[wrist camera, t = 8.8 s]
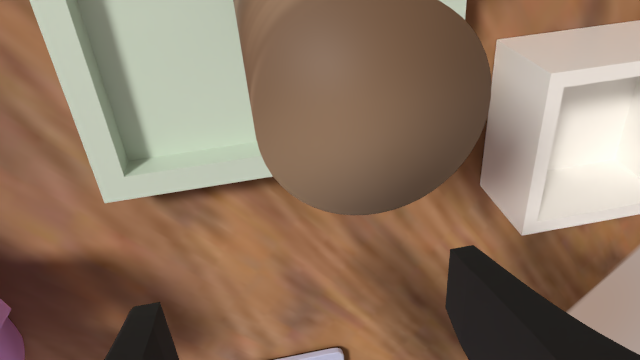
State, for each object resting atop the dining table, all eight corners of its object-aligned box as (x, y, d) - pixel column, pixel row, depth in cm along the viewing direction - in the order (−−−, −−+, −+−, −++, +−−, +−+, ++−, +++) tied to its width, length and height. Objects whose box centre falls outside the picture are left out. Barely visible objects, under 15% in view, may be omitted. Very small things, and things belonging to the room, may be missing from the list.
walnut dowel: (349, 29, 19) (481, 193, 10) (241, 46, 18) (274, 233, 9) (341, -93, 17) (502, -29, 8) (218, -77, 16) (231, 12, 7)
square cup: (614, 162, 26) (675, 207, 22) (479, 185, 25) (521, 235, 22) (655, 17, 22) (735, 46, 18) (496, 39, 21) (551, 73, 18)
